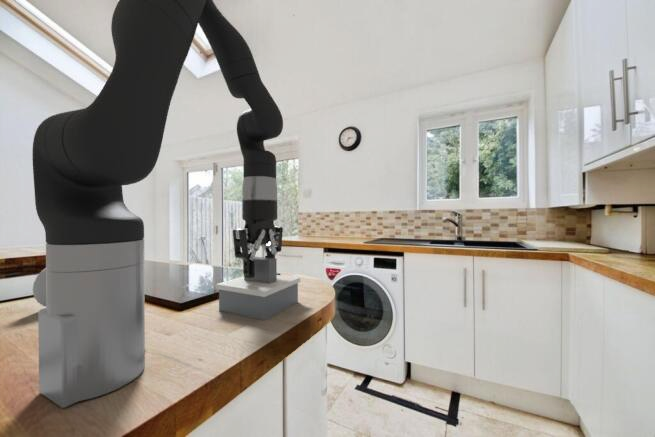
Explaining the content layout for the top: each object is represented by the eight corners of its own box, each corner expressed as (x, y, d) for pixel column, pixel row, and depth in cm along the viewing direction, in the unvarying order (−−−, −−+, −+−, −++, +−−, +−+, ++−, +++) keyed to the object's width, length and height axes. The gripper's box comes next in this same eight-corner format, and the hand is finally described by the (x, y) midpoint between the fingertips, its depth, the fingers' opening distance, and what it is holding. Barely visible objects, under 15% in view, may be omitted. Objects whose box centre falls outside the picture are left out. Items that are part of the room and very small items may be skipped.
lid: (264, 300, 50) (264, 265, 50) (216, 291, 56) (216, 260, 56) (300, 284, 62) (300, 256, 62) (257, 278, 68) (257, 252, 67)
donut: (43, 314, 55) (43, 266, 55) (27, 314, 55) (27, 266, 55) (88, 299, 65) (88, 258, 65) (74, 299, 65) (74, 258, 65)
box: (264, 322, 51) (264, 296, 51) (219, 312, 56) (219, 288, 56) (297, 303, 62) (297, 282, 62) (257, 296, 67) (257, 276, 67)
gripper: (250, 196, 51) (250, 284, 51) (292, 200, 64) (292, 270, 64) (221, 197, 54) (222, 279, 54) (267, 201, 67) (267, 267, 67)
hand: (260, 274), depth 59 cm, fingers open, 6 cm apart
